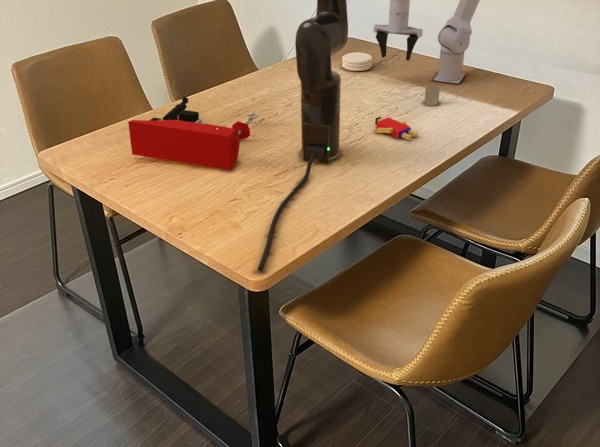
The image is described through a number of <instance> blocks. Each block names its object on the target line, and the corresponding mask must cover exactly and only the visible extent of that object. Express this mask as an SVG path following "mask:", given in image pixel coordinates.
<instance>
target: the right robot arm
mask: <svg viewBox="0 0 600 447" xmlns="http://www.w3.org/2000/svg"><path fill="white" fill-rule="evenodd" d="M480 1H481V0H459V2H458V5H457V6H456V8H455V11H454V13H453V16H451V17H450V18H448V19H447V20H446V21H445V24H444V26H443V27H442V28H441V29H440V30H439V32H438V34H437V42H438V44H439V45H440V51H439V60H438V69H437V74H436V76H435V77H434V78H433V81H434V82H441V83H449V84H457V85H458V84H460V83H461V81H462V80H463V79H464V77H465V75H466V73H464V72H463V68H464V61H465V52H466V51H467V50H468V48H469V46H470V43H471V36H472V33H473V29H472V25H471V22H472V20H473V17H474V15H475V13H476V10H477V8H478V5H479V3H480ZM410 3H411V0H389V10H388V24H374V25H373V33H374V34H375V39H376V41H377V43H378V46H379V49H380V54H381V58H385V57H386V56H387V44H388V38H389V37H388V36H389V34H391V35H401V36H407V38H406V54H405V61H410V60H411V58H412V57H411V56H412V54H413V50H414V48H415V46H416V44H417V42H418V40H419V38H422V37H423V33H424V32H423V31H424V30H423V28H417V27H412V26H409V18H410V17H409V16H410Z"/></svg>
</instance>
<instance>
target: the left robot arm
mask: <svg viewBox="0 0 600 447" xmlns="http://www.w3.org/2000/svg"><path fill="white" fill-rule="evenodd" d="M348 19H349V18H348V2H347V0H316V13H315V16H314V17H313V16H312V17H311V18H308V19H306V20H304V21H302V22H301V23H300V24H299V25H298V27H297V29H296V34H295V42H294V43H295V45H294V46H295V59H296V60H295V62H296V72H297V76H298V78H299V81H300V95H301V96H300V116H301V117H300V118H301V120H300V121H301V124H300V125H301V130H300V131H301V153H300V154H301V156H302V158H303V159H302V160H303V161H308V162H307V165H306V168H305V169H306V170H305V173H304V176H303V178H302V179H301V180H300V181H299V183H298V184H296V186H295V187H294V188H293V190H291V191H290V193H289V194H288V195H287V196H286V197H285V198H284V200H282V202H281V203H280V205H279V206H278V208H277V210H276V211H275V213H274V216H273V218H272V220H271V224H270V226H269V230H268V235H267V239H266V243H265V246H264V249H263V252H262V255H261V258H260V261H259V264H258V266H257V270H258V271H259V272H262V271H263V270H264V267H265V264H266V262H267V259H268V256H269V254H270V250H271V246H272V242H273V237H274V233H275V229H276V227H277V223H278V220H279V218H280V216H281V214H282V212H283V210H284V208H285V207H286V206H287V204H288V203H289V202H290V201H291V199H292V198H293V197H294V196H295V195H296V194H297V192H298V191H299V190H300V189H301V188H302V187H303V186H304V185H305V184H306V182H307V181H308V179H309V176H310V174H311V170H312V165H313V163H314V162H315V163H324V164H328V163H330V162H332V161H334V160H337V159H338V158H339V157H340V154H341V153H340V152H341V150H340V132H341V131H340V130H341V125H340V124H341V89H342V88H341V87H342V78H341V75H340V73H339V72H337V71H335V70H332V56H335V55H337V54H339V53H340V52H341V51H343V49H344V48H345V47H346V45H347V43H348V38H349V20H348Z"/></svg>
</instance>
